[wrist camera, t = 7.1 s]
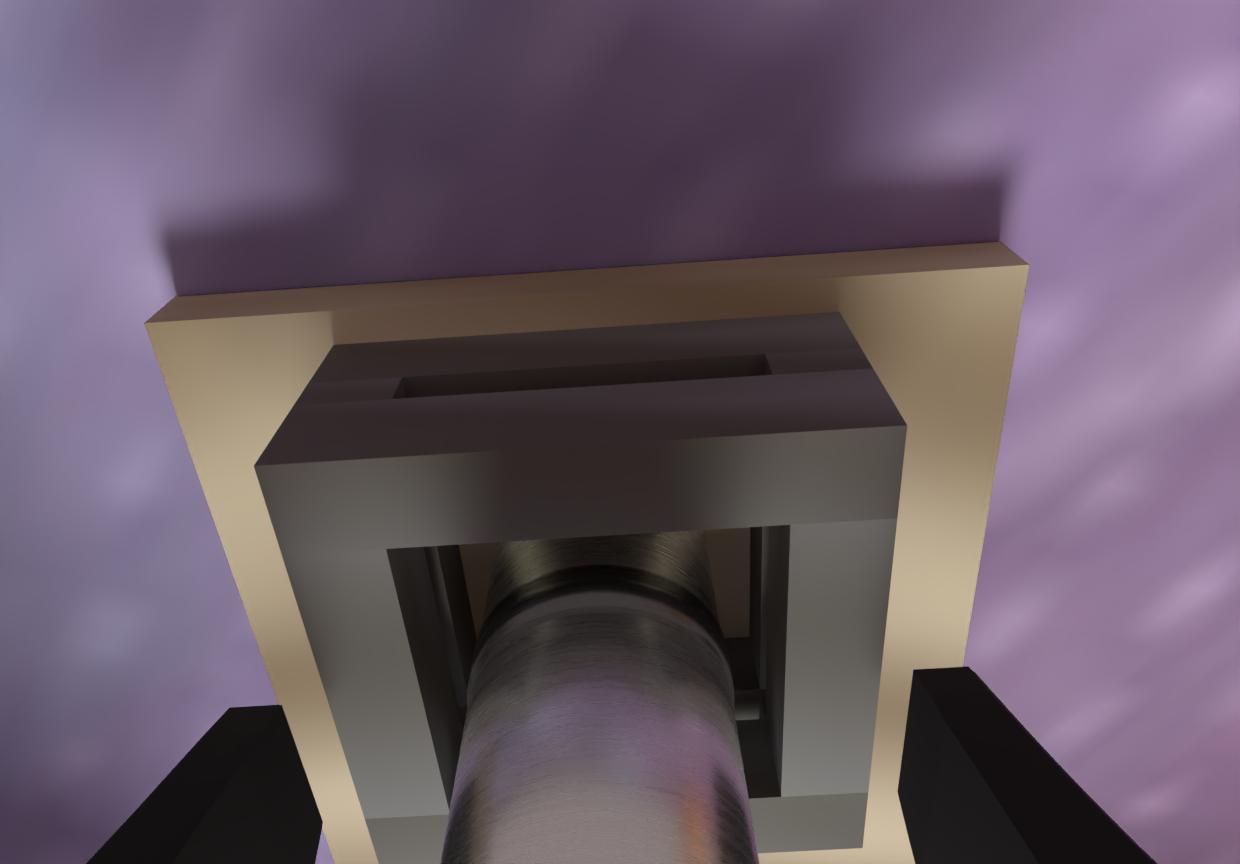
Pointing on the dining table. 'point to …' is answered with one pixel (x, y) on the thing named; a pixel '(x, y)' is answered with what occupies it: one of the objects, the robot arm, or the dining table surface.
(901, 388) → the wooden board with holder
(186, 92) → the dining table surface
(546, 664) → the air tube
